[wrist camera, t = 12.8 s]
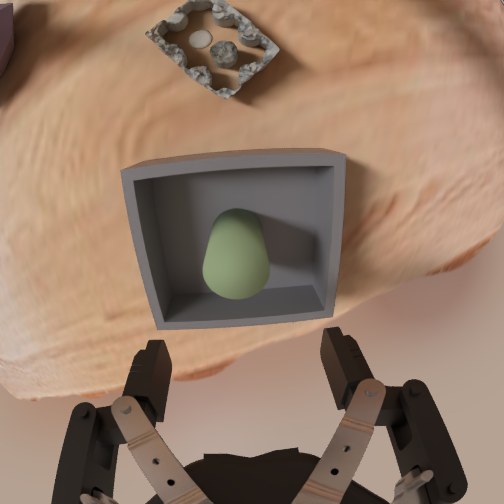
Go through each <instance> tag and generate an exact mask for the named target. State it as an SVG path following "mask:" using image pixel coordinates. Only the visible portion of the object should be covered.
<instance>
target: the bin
mask: <svg viewBox="0 0 504 504" xmlns="http://www.w3.org/2000/svg"><path fill="white" fill-rule="evenodd" d="M345 170H346V154H343V153H340V152H336V151H332V150H328V149H324V148H281V149H254V150H237V151H224V152H212V153H202V154H193V155H184V156H176V157H169V158H161V159H155V160H148V161H143V162H140V163H137V164H135V165H133V166H130V167H128V168H125V169H123V170H120V171H121V178H122V185H123V191H124V197H125V203H126V208H127V214H128V219H129V224H130V229H131V234H132V238H133V243H134V247H135V251H136V256H137V260H138V264H139V268H140V272H141V276H142V280H143V283H144V287H145V291H146V294H147V298H148V301H149V304H150V308H151V311H152V314H153V318H154V321H155V324H156V327H157V330H180V329H207V328H226V327H241V326H254V325H266V324H277V323H287V322H296V321H305V320H313V319H321V318H329V317H333V313H334V306H335V298H336V291H337V282H338V274H339V265H340V255H341V244H342V231H343V217H344V199H345ZM234 208H240V209H245V210H247V211H249V212H251V213H252V214H254V215H255V216H256V217H257V219H258V220H259V222H260V224H261V228H262V233H263V237H264V242H265V247H266V251H267V256H268V261H269V265H270V275H269V279H268V281H267V283H266V285H265V286H264V287H263V289H262V290H261V291H259V292H258V293H257V294H255V295H253V296H251V297H248V298H245V299H228V298H225V297H222V296H220V295H218V294H216V293H215V292H214V291H212V290H211V289H210V288H209V286H208V285H207V284H206V282H205V279H204V276H203V263H204V259H205V255H206V251H207V247H208V243H209V239H210V235H211V231H212V227H213V223H214V221H215V220H216V218H217V217H218V216H219V215H220V214H221V213H223V212H224V211H226V210H229V209H234Z"/></svg>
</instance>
